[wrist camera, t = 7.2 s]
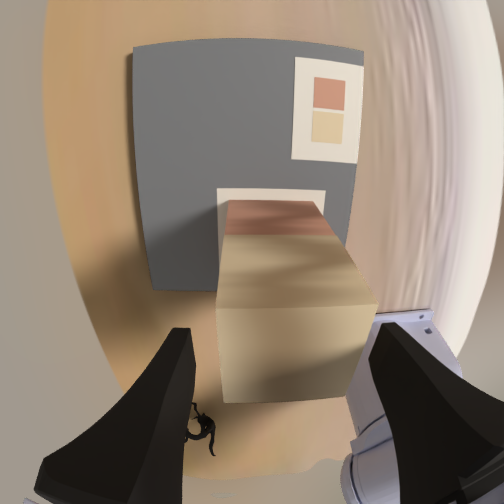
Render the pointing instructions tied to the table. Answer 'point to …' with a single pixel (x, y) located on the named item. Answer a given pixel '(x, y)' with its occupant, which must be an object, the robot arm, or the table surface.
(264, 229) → the rust block
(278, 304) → the maple block
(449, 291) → the table surface
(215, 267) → the build board
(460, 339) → the table surface
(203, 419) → the creature
